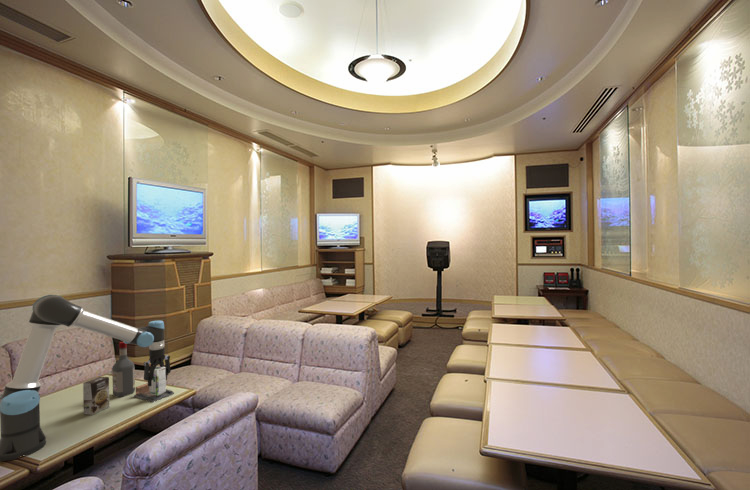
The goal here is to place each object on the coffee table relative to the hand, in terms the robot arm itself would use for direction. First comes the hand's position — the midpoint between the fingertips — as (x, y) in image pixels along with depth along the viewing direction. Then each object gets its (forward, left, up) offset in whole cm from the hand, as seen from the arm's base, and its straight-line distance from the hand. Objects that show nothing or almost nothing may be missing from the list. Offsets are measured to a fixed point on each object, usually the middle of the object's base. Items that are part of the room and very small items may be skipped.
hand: (157, 388), depth 197 cm
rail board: (0, +4, -4) cm, 6 cm away
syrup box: (0, 0, -3) cm, 3 cm away
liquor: (-6, +23, -5) cm, 24 cm away
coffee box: (-24, +13, -5) cm, 28 cm away
